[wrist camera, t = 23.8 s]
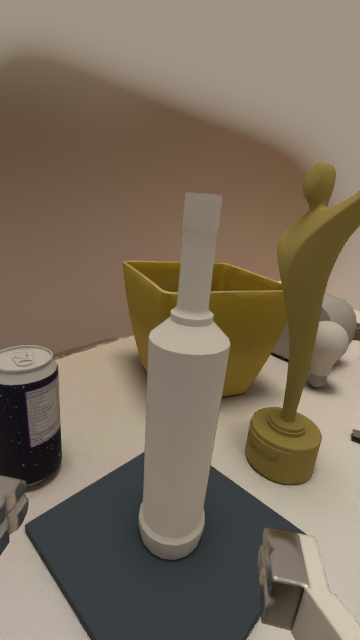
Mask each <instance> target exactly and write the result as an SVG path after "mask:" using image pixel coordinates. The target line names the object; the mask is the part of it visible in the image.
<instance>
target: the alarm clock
mask: <svg viewBox="0 0 360 640" xmlns="http://www.w3.org/2000/svg"><path fill="white" fill-rule="evenodd" d="M278 282H280V283H281V281H278ZM321 321H331V322H335V323H337V324H339V325H340V326H342V327H343V328H344V329H345V331H346V332H347V335H348V338H349V344H350V343H351V342H352V340H353V337H354V334H355V331H356V314H355V312H354V310H353V308H352V307H351V305H350V304H349V303H348V302H347V301H346V300H344V299H342V298H339V297H336V296H334V295H331V294H328V293H324V298H323V304H322V309H321V315H320V320H319V322H321ZM348 346H349V345H348ZM271 353H273V354H275V355H277V356H280V357H282V358H284V359H286V360H289V331H288V321H287V323H286V325H285V327H284V329H283V331H282V334H281V335H280V337H279V339H278V341H277V343H276V345H275V347H274V349H273V350H272V352H271Z"/></svg>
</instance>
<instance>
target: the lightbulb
mask: <svg viewBox="0 0 360 640" xmlns="http://www.w3.org/2000/svg"><path fill="white" fill-rule="evenodd" d="M348 345H349V338H348V335H347V332H346V331H345V329H344V328H343V327H342V326H340V325H339V324H337V323H335V322H331V321H321V322H319V326H318V331H317V337H316V342H315V346H314V351H313V356H312V359H311V363H310V367H309V377H308V382H309V383H310V384H311V385H312V386H313V387H316V388H318V387H322V386H324V385H325V382H326V379H327V376H328V375H329V374H330V371H331V369H332V367H333V365H334V364H335V362H336V361H337V360H338V359H339V358H340V357H342V355H343V354H344V353H345V352H346V350H347V349H348Z"/></svg>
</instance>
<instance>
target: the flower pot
mask: <svg viewBox="0 0 360 640" xmlns="http://www.w3.org/2000/svg"><path fill="white" fill-rule="evenodd" d="M180 265H181V262H160V261H156V262H155V261H123V270H124V280H125V288H126V295H127V302H128V308H129V313H130V319H131V323H132V328H133V332H134V336H135V340H136V344H137V348H138V351H139V355H140V358H141V361H142V364H143V366H144V368H145V370H146V371H147V372H148V343H149V335H150V332H151V331H152V330H153V329H154V328H156V327H157V326H158V325H160V324H161V323H162V322H164V321H165V320H167V319H168V318H169V317H170V314H171V310H172V309H174V308H175V307H176V306H177V299H178V288H179V276H180ZM209 311H210V312H212V313H213V322H214V323H215V324H216V325H217V326H218V327H219V328H220V329H221V330H222V332H223V333H224V334H225V335H226V336H227V337H228V338H229V341H230V350H229V356H228V362H227V368H226V374H225V380H224V386H223V392H222V397H224V396H230V395H236V394H242V393H245V392H246V390H247V389H248V388H249V386H250V385H251V384H252V382H253V381H254V379H255V378H256V376H257V375H258V373H259V372H260V370H261V369H262V367H263V365H264V364H265V362H266V361H267V359H268V357H269V356H270V354H271V352H272V350H273V349H274V347H275V345H276V343H277V341H278V339H279V337H280V335H281V334H282V331H283V329H284V327H285V325H286V323H287V314H286V307H285V301H284V295H283V289H282V284H281V283H280V282H278V281H275V280H272V279H269V278H266V277H264V276H261V275H258V274H255V273H253V272H250V271H247V270H244V269H242V268H239V267H236V266H233V265H230V264H225V263H214V265H213V273H212V282H211V291H210V300H209Z"/></svg>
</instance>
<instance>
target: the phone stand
mask: <svg viewBox="0 0 360 640" xmlns="http://www.w3.org/2000/svg"><path fill="white" fill-rule="evenodd" d="M353 432H354V433H352V440H353V441H356V442H359V443H360V435H359V434H360V431H358V430H355V429H353ZM356 433H357V434H356ZM354 437H355V438H354ZM357 438H358V439H357Z"/></svg>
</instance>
